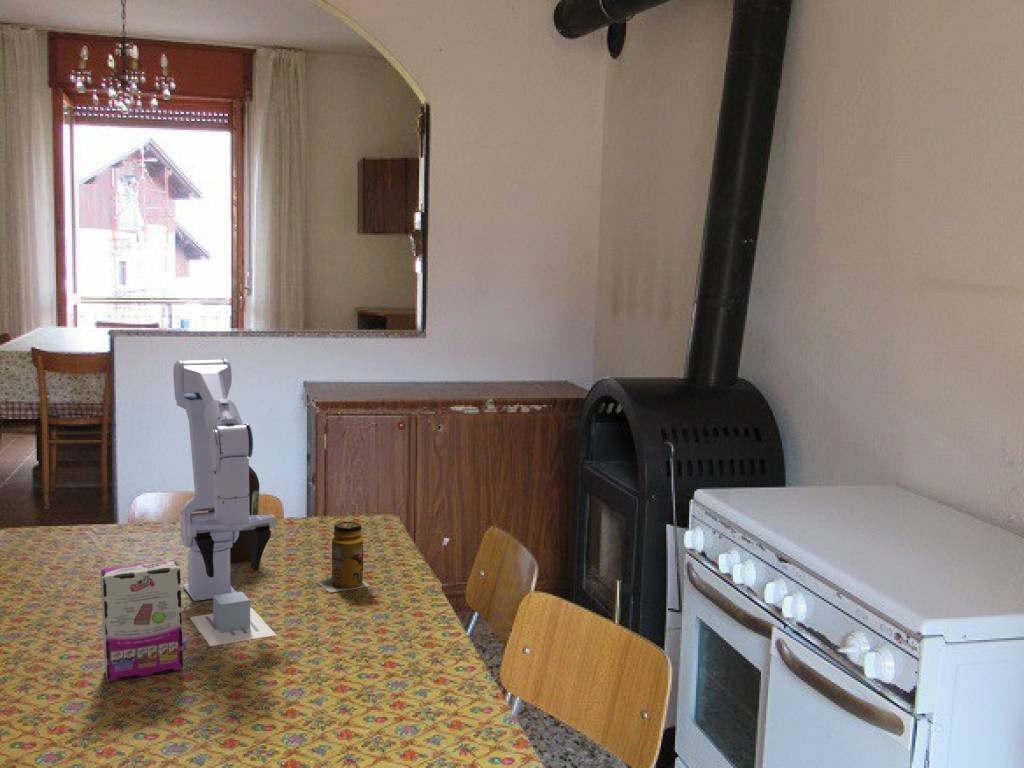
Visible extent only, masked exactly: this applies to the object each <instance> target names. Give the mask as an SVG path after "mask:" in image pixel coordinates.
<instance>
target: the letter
mask: <svg viewBox="0 0 1024 768" xmlns="http://www.w3.org/2000/svg"><path fill="white" fill-rule="evenodd" d="M189 618H190V620H191V622H192V623H193V625H194V626H195V627H196V629H197V630H198V631H199V633H200V634H201V635H202V637H203V638H204V640H205V641H206V642H207V643H208V646H209V647H215V646H221V645H226V644H234V643H239V642H245V641H252V640H256V639H262V638H269V637H274V636H277V634H276V632H274V631H273V629H272V628H271V627H270V625H268V624H267V623H266V622H265V621H264V619H262V617H261V616H260V615H259V614H258V613H257V612H256V611H255V609H253V607H250V628H249V629H243V630H237V631H231V632H224V633H221V632H220V631H219V630H218V629H217V627H216V626H215V625H214V624H213V613H209V614H202V615H196V616H189Z"/></svg>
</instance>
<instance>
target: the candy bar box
mask: <svg viewBox="0 0 1024 768" xmlns="http://www.w3.org/2000/svg"><path fill="white" fill-rule="evenodd" d="M100 588H101V589H100V591H101V612H102V613H101V614H102V636H103V638H102V640H103V657H104V659H103V661H104V672H105V676H106V680H107V682H108V683H110V682H111V683H112V682H118V681H124V680H131V679H135V678H136V679H137V678H140V677H141V678H142V677H148V676H149V677H150V676H154V675H159V674H166V673H170V672H171V673H172V672H179V671H182V670H183V669H184V649H183V643H182V634H183V624H182V623H183V621H182V620H183V618H182V616H183V615H182V587H181V568H180V565H178V563H177V562H176V560H175V559H172V560H163V561H153V562H145V563H139V564H131V565H123V566H115V567H107V568H100Z"/></svg>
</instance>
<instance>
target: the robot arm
mask: <svg viewBox="0 0 1024 768" xmlns="http://www.w3.org/2000/svg"><path fill="white" fill-rule="evenodd" d="M173 364H174V365H173V372H172V373H173V390H174V400H175V401H176V406H177V407H180V408H182V409H184V410H185V412H186V415H187V420H188V424H189V426H188V427H189V439H190V450H191V460H192V462H191V463H192V472H193V473H192V474H193V475H192V476H193V488H194V496H192V497H191V498H190V499H189V500H188V501H187V502H185V503H184V504H183V506H182V508H181V511H180V537H181V540H182V544H183V546H184V547H185V548H189V550H188V554H187V569H188V570H187V575H188V576H187V579H188V581H187V582H188V583H184V584H182V585H183V586H182V587H183V588H184V591H186V593H187V594H188V595H189V597H191V599H192V600H193V601H195V602H199V601H204V600H205V601H206V600H211V599H212V600H213V596H215V595H222V594H228V593H235V592H237V590H235V588H234V587H233V586H232V584H231V563H230V547H233V546H232V543H235V542H236V540H237V539H238V537H239V531H242V530H250V537H251V560H250V568H251V570H253V572H258V571H259V569H260V563H261V561H262V556H263V554H264V550H265V549H266V546H267V544H268V542H269V541H270V539H271V536H272V530H270V529H275V528H277V527H276V526H277V525H276V523H277V522H276V519H277V518H276V516H275V515H274V514H262V515H261V514H260V515H259V514H258V515H253V516H249V466H250V458H251V457H252V456H253V453H254V452H253V451H254V438H253V437H254V436H253V430H252V428H251V424H250V423H248V422H246V421H242V419H241V416H240V413H239V411H238V409H237V406H236V404H235V403H234V402H233V401H232V400H230V399H228V396H229V392H230V389H231V388H232V387H231V386H232V381H233V380H232V379H233V378H232V365H231V363H230V362H229V360H228V359H227V358H221V359H198V360H197V359H195V360H193V359H191V360H190V359H189V360H181V359H178V360H176V362H175V363H173ZM210 510H215V512H208V511H210ZM196 512H197V513H196Z"/></svg>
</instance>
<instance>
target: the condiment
mask: <svg viewBox="0 0 1024 768" xmlns="http://www.w3.org/2000/svg"><path fill="white" fill-rule="evenodd" d="M333 530H334V532H333V535H334V536H333V537H332V539H331V578H329V579H323V580H321V579H320V580H319V579H318V580H315V583H316V584H317V585H319V586H320V587H321V588H323V589H324V590H326V591H327V592H329V593H331V594H332V593H336V592H341V591H343V592H344V591H347V590H348V591H349V590H356V589H361V588H368V587H370V586H371V584H369V583H368V582H366V581H364V538H363V536H362V525H361V523H359V522H357V521H340V522H337V523H336V524H334V526H333Z"/></svg>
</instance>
